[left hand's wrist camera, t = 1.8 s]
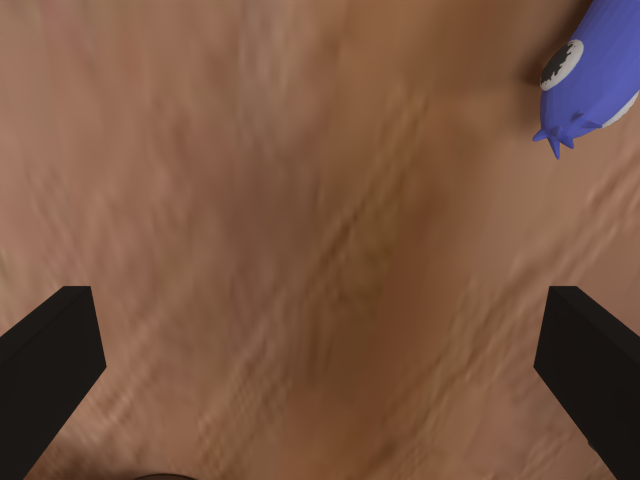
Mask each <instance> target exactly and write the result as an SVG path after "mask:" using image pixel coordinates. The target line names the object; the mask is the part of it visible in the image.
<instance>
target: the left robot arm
mask: <svg viewBox="0 0 640 480" xmlns="http://www.w3.org/2000/svg"><path fill="white" fill-rule="evenodd" d="M106 367H107V366H106V361H105V356H104V351H103V346H102V341H101V336H100V331H99V326H98V321H97V316H96V311H95V306H94V301H93V296H92V291H91V286H63V287H62V288H61V289H59V290H58V291H57V292H56V293H54V294H53V295H52V296H51V297H49V298H48V299H47V300H46V301H45V302H43V303H42V304H41V305H40V306H38V307H37V308H36V309H35V310H33V311H32V312H31V313H30V314H28V315H27V316H26V317H25V318H23V319H22V320H21V321H20V322H18V323H17V324H16V325H15V326H13V327H12V328H11V329H10V330H8V331H7V332H6V333H5V334H3V335H2V336H1V337H0V480H23V479H24V477H25V476H26V475H27V473H28V472H29V471H30V469H31V468H32V467H33V465H34V464H35V463H36V461H37V460H38V459H39V457H40V456H41V455H42V453H43V452H44V451H45V449H46V448H47V447H48V445H49V444H50V442H51V441H52V440H53V438H54V437H55V436H56V434H57V433H58V432H59V430H60V429H61V428H62V426H63V425H64V424H65V422H66V421H67V420H68V418H69V417H70V416H71V414H72V413H73V412H74V410H75V409H76V408H77V406H78V405H79V404H80V402H81V401H82V399H83V398H84V397H85V395H86V394H87V393H88V391H89V390H90V389H91V387H92V386H93V385H94V383H95V382H96V381H97V379H98V378H99V377H100V375H101V374H102V373H103V371H104V370H105V369H106ZM533 367H534V369H535V370H536V371H537V373H538V374H539V375H540V377H541V378H542V379H543V381H544V382H545V383H546V385H547V386H548V387H549V389H550V390H551V391H552V393H553V394H554V395H555V397H556V398H557V399H558V401H559V402H560V404H561V405H562V406H563V408H564V409H565V410H566V412H567V413H568V414H569V416H570V417H571V418H572V420H573V421H574V422H575V424H576V425H577V426H578V428H579V429H580V430H581V432H582V433H583V434H584V436H585V437H586V438H587V440H588V441H589V442H590V444H591V445H592V447H593V448H594V449H595V451H596V452H597V453H598V455H599V456H600V457H601V459H602V460H603V461H604V463H605V464H606V465H607V467H608V468H609V469H610V471H611V472H612V473H613V475H614V476H615V477H616V479H617V480H640V337H639V336H638V335H637V334H635V333H634V332H633V331H632V330H630V329H629V328H628V327H627V326H625V325H624V324H623V323H622V322H620V321H619V320H618V319H617V318H615V317H614V316H613V315H612V314H610V313H609V312H608V311H607V310H605V309H604V308H603V307H602V306H600V305H599V304H598V303H597V302H595V301H594V300H593V299H592V298H591V297H589V296H588V295H587V294H586V293H584V292H583V291H582V290H581V289H579V288H578V287H577V286H549V291H548V296H547V301H546V306H545V311H544V316H543V321H542V326H541V331H540V336H539V341H538V346H537V351H536V356H535V361H534V366H533ZM137 480H191V479H187V478H183V477H178V476H170V475H157V476H149V477H144V478H140V479H137Z"/></svg>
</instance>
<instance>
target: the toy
mask: <svg viewBox="0 0 640 480" xmlns="http://www.w3.org/2000/svg"><path fill="white" fill-rule="evenodd" d="M540 87H541V89H542V90H543V91H542V95H541V111H540V119H541V130H540V131H539V132H538V133H537V134H536V135H535V136H534V137H533V141H539V140H542V139H545V138H547V139H548V140H549V143H550V145H551V147H552V150H553V152H554V154H555V156H556V158H557V159H560V154H559V142H561V143H562V144H564V145H566V146H567V147H569V148H571V149H573V148H574V144H573V140H572V139H574V138H577V137H580V136H582V135H585V134H587V133H589V132H591V131H593V130H595V129H601V128H604V127H607V126H609V125H611V124H613V123H614V122H616V121H617V120H618V119H620V118H621V117H622V116H623V115H624V114H625V113H626V112H627V111H628V110H629V109H630V107H631V106H632V104H633V103H634V101H635V100H636V98H637V96H638V93H639V90H640V0H593V2H592V3H591V5H590V7H589V9H588V11H587V12H586V14H585V16H584V18H583V19H582V21H581V23H580V24H579V26H578V27H577V29H576V30H575V32H574V34H573V35H572V37H571V38H570V40H569V41H568V43H567V44H566V45H565V46H563V47H562V48H561V49H560V50H559V51H558V52H557V53H556V54H555V55H554V56H553V57H552V58H551V60H550V61H549V62H548V64H547V65H546V67H545V69H544V71H543V73H542V76H541V79H540Z"/></svg>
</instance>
